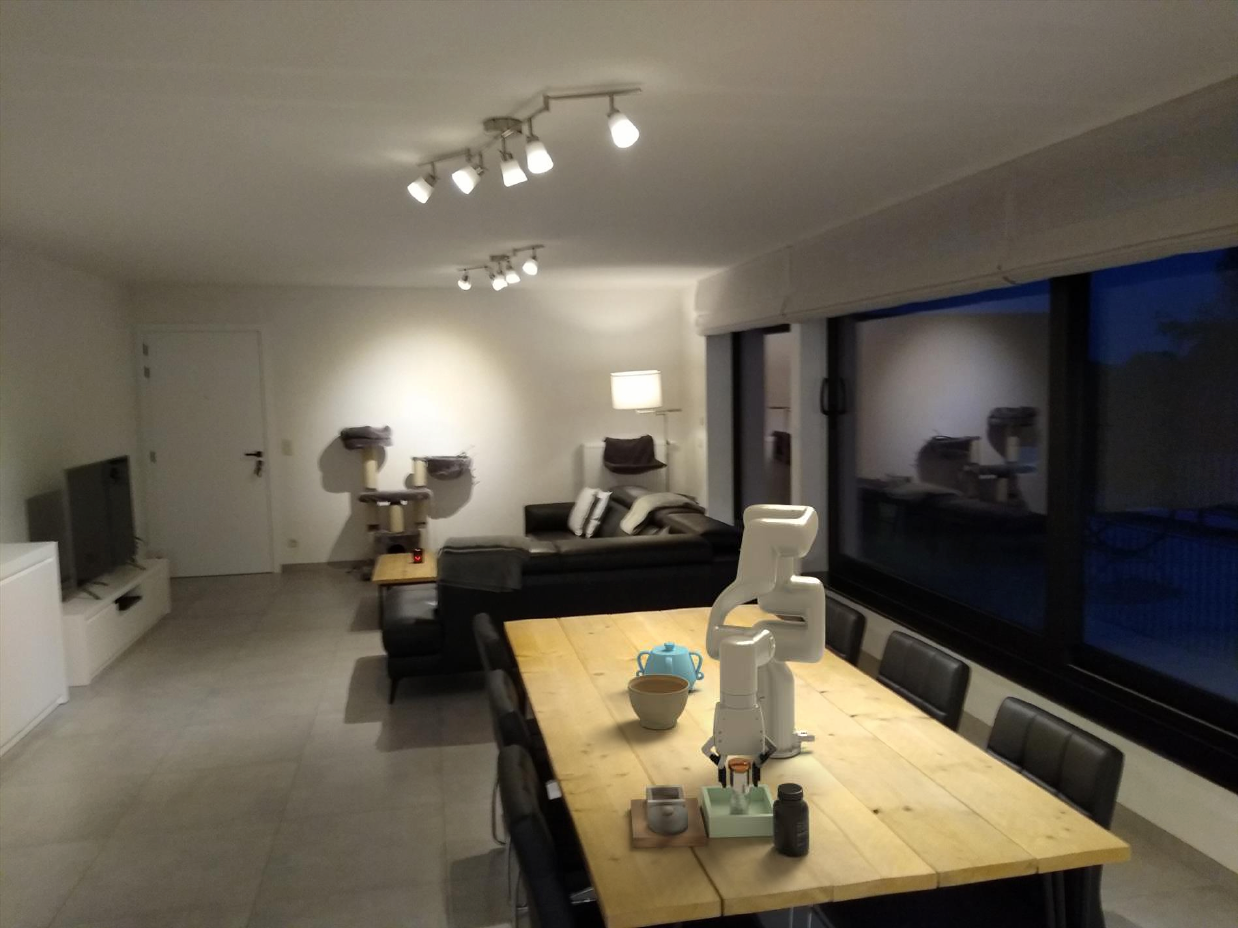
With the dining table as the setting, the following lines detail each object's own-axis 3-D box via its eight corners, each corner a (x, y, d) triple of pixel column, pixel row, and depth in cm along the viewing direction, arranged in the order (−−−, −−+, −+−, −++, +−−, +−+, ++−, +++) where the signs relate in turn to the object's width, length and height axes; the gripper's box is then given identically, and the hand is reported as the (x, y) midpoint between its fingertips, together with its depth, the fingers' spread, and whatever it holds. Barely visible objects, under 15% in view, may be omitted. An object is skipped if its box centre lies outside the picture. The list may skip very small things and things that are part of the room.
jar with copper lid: (749, 808, 185) (748, 757, 184) (752, 819, 181) (752, 766, 180) (726, 809, 185) (726, 757, 184) (730, 820, 181) (729, 767, 180)
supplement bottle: (804, 838, 175) (804, 779, 174) (813, 857, 168) (813, 795, 167) (769, 840, 174) (769, 780, 173) (776, 858, 168) (776, 796, 167)
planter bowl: (685, 737, 226) (685, 695, 225) (622, 733, 229) (622, 691, 228) (693, 713, 242) (692, 674, 241) (634, 710, 245) (633, 671, 244)
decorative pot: (676, 675, 274) (675, 632, 272) (709, 690, 260) (708, 644, 259) (632, 686, 265) (631, 641, 264) (663, 701, 251) (662, 654, 250)
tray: (767, 802, 190) (767, 784, 190) (780, 835, 176) (780, 815, 176) (701, 804, 190) (701, 785, 189) (709, 837, 176) (709, 817, 175)
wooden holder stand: (697, 806, 189) (696, 781, 188) (706, 845, 173) (705, 818, 172) (630, 808, 188) (630, 783, 188) (633, 847, 173) (633, 820, 172)
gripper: (777, 690, 185) (777, 775, 186) (694, 692, 184) (695, 777, 186) (784, 703, 177) (785, 791, 179) (698, 706, 177) (699, 794, 178)
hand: (739, 783), depth 182 cm, fingers open, 5 cm apart
